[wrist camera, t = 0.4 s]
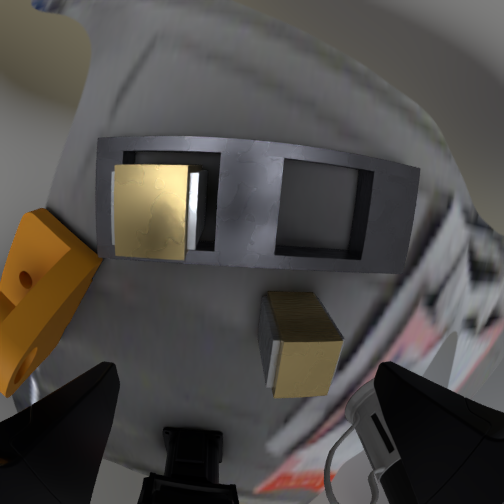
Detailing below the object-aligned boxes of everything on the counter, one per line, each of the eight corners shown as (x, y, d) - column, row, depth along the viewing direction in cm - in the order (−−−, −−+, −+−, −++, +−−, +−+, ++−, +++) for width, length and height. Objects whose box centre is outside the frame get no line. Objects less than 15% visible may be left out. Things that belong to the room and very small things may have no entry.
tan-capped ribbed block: (204, 229, 21) (193, 260, 14) (144, 225, 20) (107, 255, 14) (208, 165, 19) (197, 165, 13) (145, 163, 19) (106, 165, 12)
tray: (387, 263, 23) (402, 273, 20) (110, 247, 20) (98, 257, 18) (402, 166, 20) (420, 168, 18) (112, 140, 18) (97, 138, 16)
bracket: (45, 201, 19) (-65, 240, 8) (107, 255, 21) (18, 338, 9) (9, 292, 21) (-65, 355, 9) (61, 338, 23) (0, 423, 11)
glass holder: (392, 421, 29) (439, 508, 15) (288, 428, 28) (316, 546, 13) (424, 369, 27) (493, 459, 13) (314, 370, 25) (367, 510, 11)
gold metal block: (308, 339, 24) (333, 394, 17) (256, 339, 24) (266, 398, 17) (318, 292, 23) (350, 340, 16) (262, 290, 22) (275, 342, 16)
